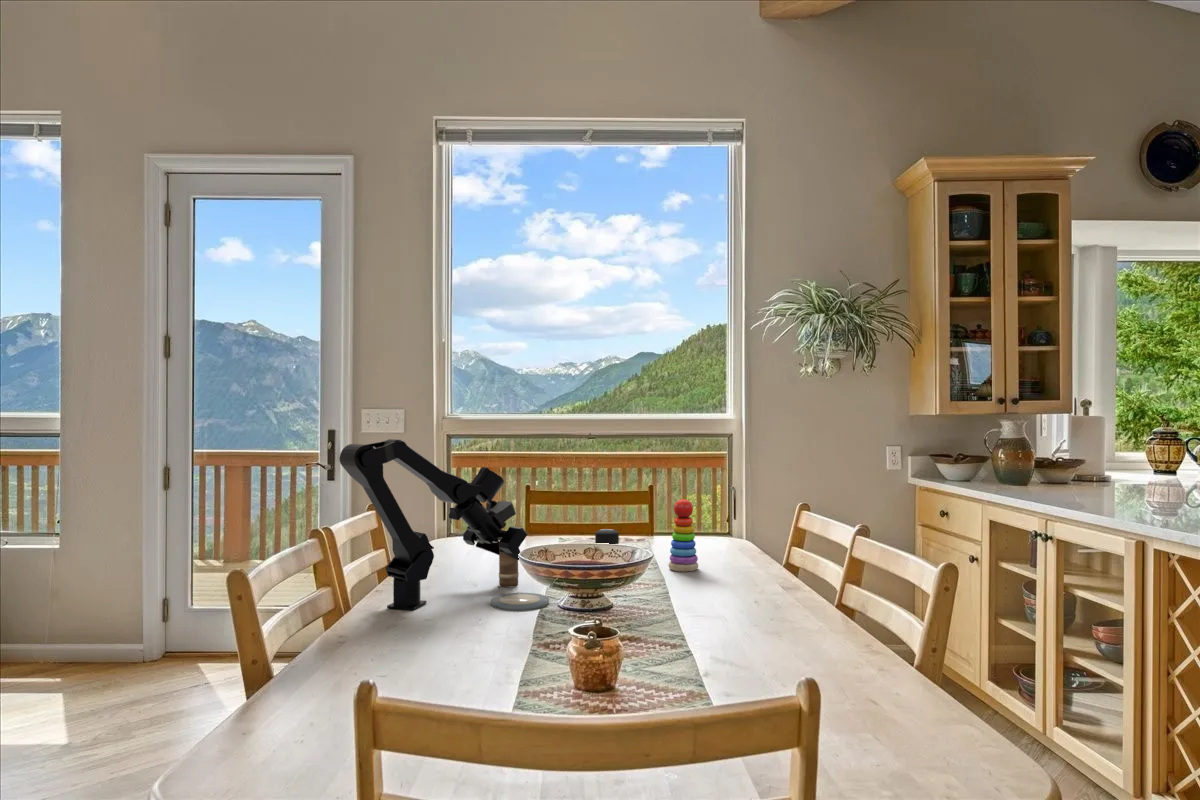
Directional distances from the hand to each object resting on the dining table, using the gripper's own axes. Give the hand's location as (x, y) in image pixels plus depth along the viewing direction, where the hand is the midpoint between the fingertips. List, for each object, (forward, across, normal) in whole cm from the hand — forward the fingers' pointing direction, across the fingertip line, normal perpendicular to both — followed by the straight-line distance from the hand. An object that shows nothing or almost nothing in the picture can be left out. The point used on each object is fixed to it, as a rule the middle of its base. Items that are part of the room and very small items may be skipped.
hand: (513, 557), depth 200 cm
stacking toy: (+35, -19, -26) cm, 47 cm away
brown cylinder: (+4, 0, +6) cm, 7 cm away
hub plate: (-3, -16, +12) cm, 20 cm away
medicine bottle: (+20, -11, -11) cm, 25 cm away
